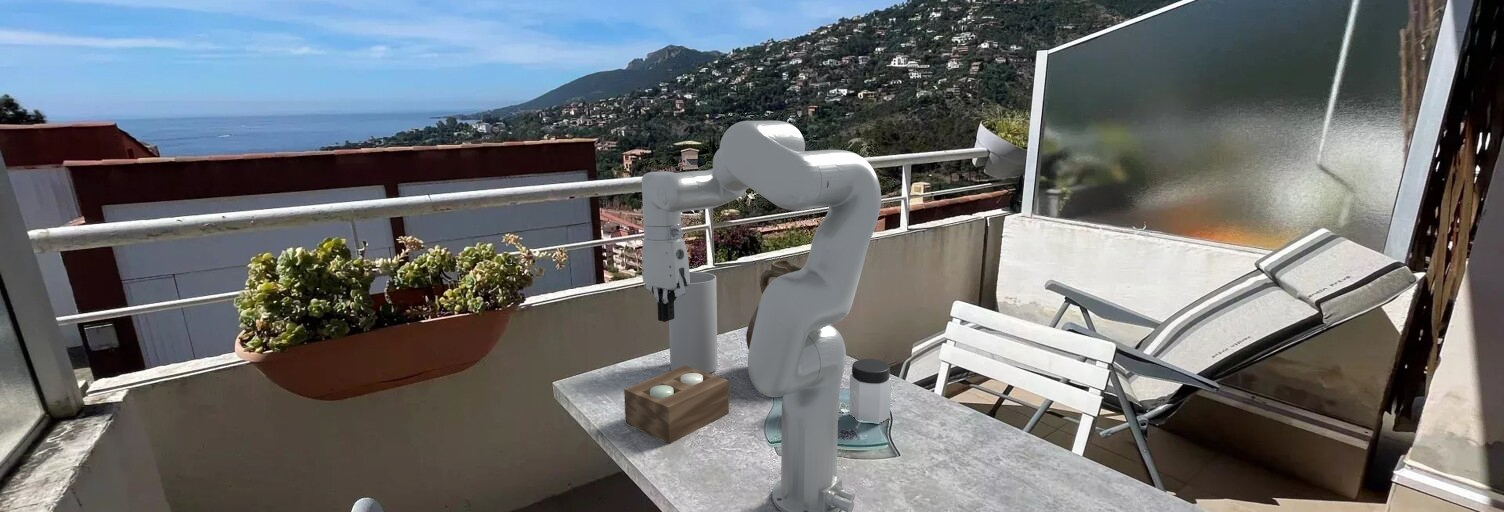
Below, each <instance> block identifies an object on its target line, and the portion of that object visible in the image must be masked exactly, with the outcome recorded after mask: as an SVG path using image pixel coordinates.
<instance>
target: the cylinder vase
mask: <svg viewBox="0 0 1504 512" xmlns="http://www.w3.org/2000/svg"><path fill="white" fill-rule="evenodd" d="M689 272H690V284H689V286H687V287H685V292H686V293H685V295H682V296H677V298H676V301H674V316H675V317H674V319H672V320H669V321H668V333H669V334H668V335H669V359H670V362H669V363H670V364H669V366H670V371H671V370H674V369H676V368H679V367H681V366H684V365H685V366H688V367H691V368H694V369H697V370H700V371H703V372H706V373H709V374H713V372H715V371H716V370H717V369H718V367H719V364H718V363H719V362H718V361H719V360H718V359H719V358H718V309H717V308H718V307H717V306H718V305H717V304H718V301H717V299H718V298H717V297H718V296H717V294H718V293H717V276H716V275H715V274H712V273H710V272H709V273H708V272H702V271H701V272H700V271H689ZM670 292H671V291H670ZM670 292H669V293H670Z"/></svg>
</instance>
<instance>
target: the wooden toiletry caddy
mask: <svg viewBox="0 0 1504 512" xmlns="http://www.w3.org/2000/svg"><path fill="white" fill-rule="evenodd" d="M687 373H698V374H701V375H702V376H703V381H702V382H700V383H697V384H695V385H693V386H690V385H687V384H685V383H682V382H681V376H682V375H684V374H687ZM659 385H667V386H671V387H672V388H673V391H674V394H672V395H670V396H668V397H665V398H663V399H661V400H660V399H658V398H655V397H653V396H650V389H651V388H653V387H655V386H659ZM729 391H730V390H729V379H726V378H724V377H721V376H717V375H714V374H713V373H710V374H709V373H706V372H703V371H700V370H697V369H694V368H691V367H688V366H685V365H684V366H681V367H679V368H676V369H674V370H671V369H670V370H669V371H667V372H664V373H661V374H659V375H657V376H654V377H652V378H649V379H646V380H644V381H642V382H639V383H636V384H633V385H631V386H628V387H626V388H624V389H623V393H624V418H625V424H626V425H628V426H630V427H632V428H634V429H637V430H639V431H641V432H642V433H645V434H647V435H650V436H652V437H654V438H656V439H658V440H660V441H663V442H665V443H667V444H669V445H670V444H672V443H674V442H676V441H678V440H680V439H683V438H684V437H686V436H687V435H690V434H691V433H694V432H696V431H697V430H700V429H701V428H703V427H704V428H705V427H706V426H707V425H709V424H711V423H714V422H715V421H717V420H719V419H721V418H723V417H725V416H726V415H729V412H730V411H729V409H730V408H729V407H730V405H729V403H730V401H729V399H730V397H729V395H730V393H729Z"/></svg>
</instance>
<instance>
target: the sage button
mask: <svg viewBox="0 0 1504 512" xmlns="http://www.w3.org/2000/svg"><path fill="white" fill-rule="evenodd" d="M672 394H674V391H673V388H672V387H671V386H667V385H659V386H655V387H653V388H651V389H650V396H653V397H655V398H658V399H660V400H661V399H663V398H665V397H668V396H670V395H672Z"/></svg>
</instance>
